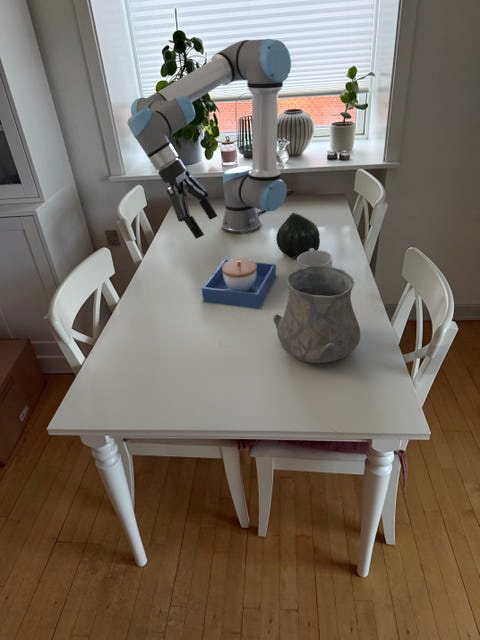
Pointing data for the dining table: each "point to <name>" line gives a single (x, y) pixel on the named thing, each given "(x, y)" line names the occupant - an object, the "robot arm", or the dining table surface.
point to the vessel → (318, 315)
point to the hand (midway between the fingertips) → (207, 226)
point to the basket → (253, 298)
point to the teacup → (314, 259)
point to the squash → (297, 236)
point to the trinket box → (239, 274)
